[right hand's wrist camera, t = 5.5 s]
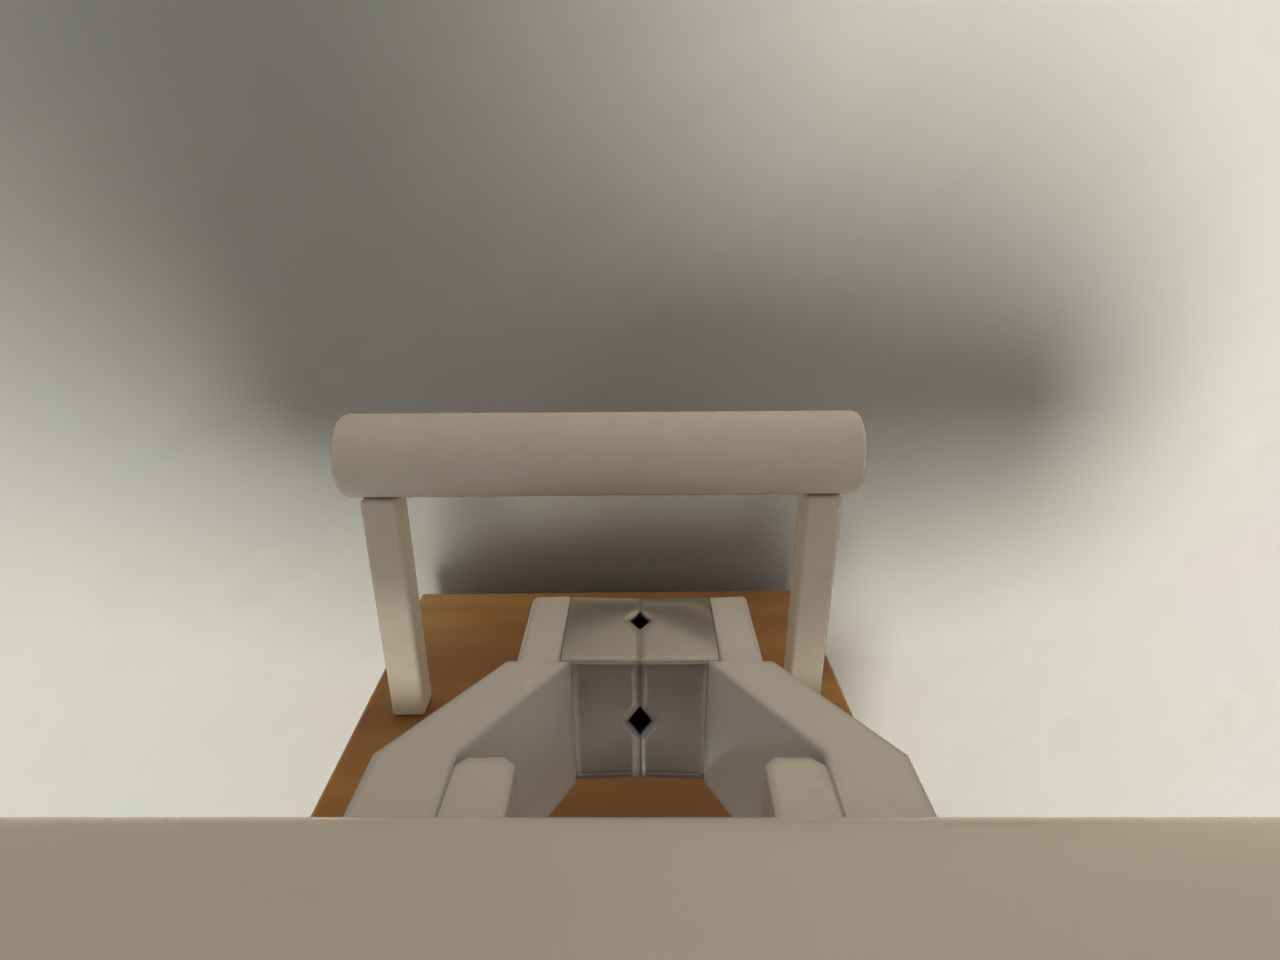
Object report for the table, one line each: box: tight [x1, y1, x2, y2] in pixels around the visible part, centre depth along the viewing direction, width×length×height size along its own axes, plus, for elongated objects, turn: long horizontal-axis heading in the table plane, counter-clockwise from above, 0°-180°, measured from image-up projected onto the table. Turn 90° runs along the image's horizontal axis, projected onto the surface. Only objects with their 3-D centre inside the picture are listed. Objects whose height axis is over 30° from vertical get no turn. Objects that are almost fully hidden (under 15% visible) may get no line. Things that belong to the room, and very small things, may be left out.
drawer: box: [311, 410, 867, 817], centre depth 16 cm, size 25×9×8 cm, turn 0°
